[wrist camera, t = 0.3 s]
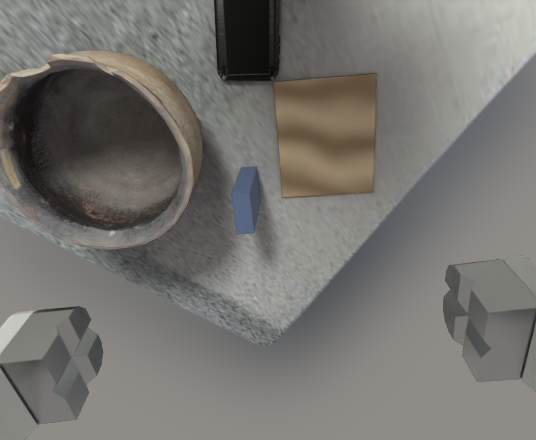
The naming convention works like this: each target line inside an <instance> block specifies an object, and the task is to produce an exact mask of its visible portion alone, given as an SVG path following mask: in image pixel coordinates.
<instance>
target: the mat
mask: <svg viewBox="0 0 536 440" xmlns="http://www.w3.org/2000/svg"><path fill="white" fill-rule="evenodd" d="M376 76H377V74H376V73H374V74H363V75H351V76H339V77H328V78H316V79H304V80H292V81H281V82H274V93H275V106H276V119H277V132H278V144H279V157H280V170H281V183H282V196H283V197H294V196H311V195H328V194H345V193H362V192H373V183H374V147H375V112H376Z"/></svg>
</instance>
